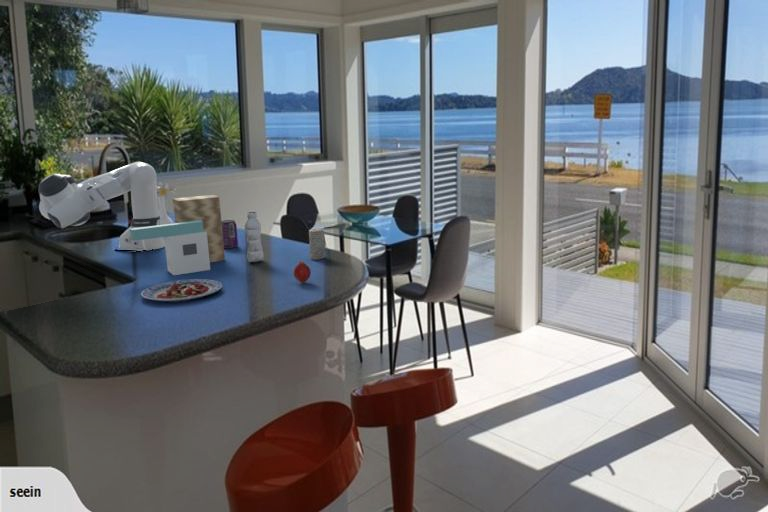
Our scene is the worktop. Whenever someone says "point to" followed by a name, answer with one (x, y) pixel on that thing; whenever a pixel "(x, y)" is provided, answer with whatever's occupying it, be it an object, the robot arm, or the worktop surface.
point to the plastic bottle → (253, 238)
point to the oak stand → (209, 214)
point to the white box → (187, 253)
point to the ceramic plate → (181, 290)
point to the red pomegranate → (302, 272)
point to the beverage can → (229, 233)
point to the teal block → (166, 230)
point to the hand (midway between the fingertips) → (124, 173)
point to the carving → (317, 244)
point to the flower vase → (161, 198)
